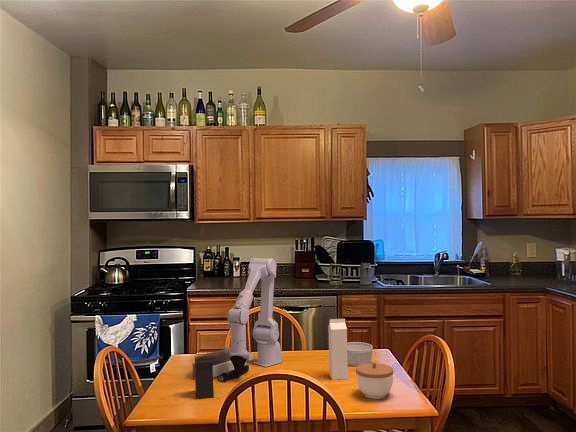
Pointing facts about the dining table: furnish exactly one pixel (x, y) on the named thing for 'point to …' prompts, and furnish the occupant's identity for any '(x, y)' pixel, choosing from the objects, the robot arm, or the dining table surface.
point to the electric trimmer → (231, 374)
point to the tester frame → (213, 358)
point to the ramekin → (358, 353)
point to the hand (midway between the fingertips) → (239, 375)
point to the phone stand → (204, 378)
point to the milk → (338, 349)
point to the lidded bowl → (374, 379)
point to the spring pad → (222, 368)
